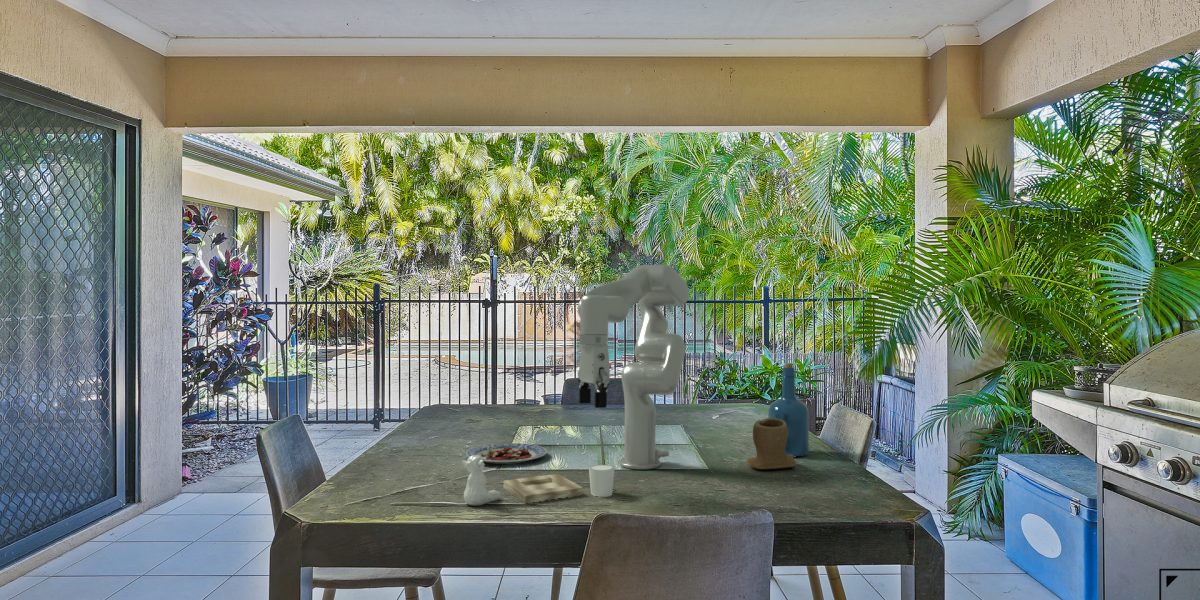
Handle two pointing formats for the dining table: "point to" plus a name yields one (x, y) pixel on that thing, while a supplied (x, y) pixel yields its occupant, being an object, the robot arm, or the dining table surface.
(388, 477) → the dining table surface
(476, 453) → the ceramic plate
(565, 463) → the dining table surface
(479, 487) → the sitting furry creature
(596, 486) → the white cup
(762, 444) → the stone cup
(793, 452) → the wine bottle
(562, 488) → the coaster board
